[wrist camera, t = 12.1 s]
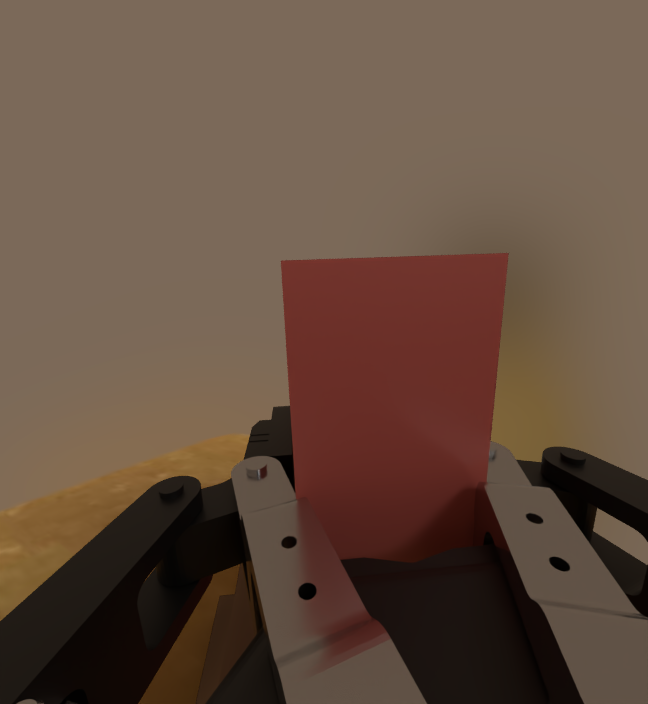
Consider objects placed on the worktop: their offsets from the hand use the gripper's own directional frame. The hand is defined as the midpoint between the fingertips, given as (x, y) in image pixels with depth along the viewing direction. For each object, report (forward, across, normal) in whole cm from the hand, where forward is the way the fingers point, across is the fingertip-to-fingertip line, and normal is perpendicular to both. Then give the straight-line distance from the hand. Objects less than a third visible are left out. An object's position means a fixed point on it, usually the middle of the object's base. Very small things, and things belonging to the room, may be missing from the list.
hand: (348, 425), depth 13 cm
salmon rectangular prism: (-3, 0, +10) cm, 10 cm away
